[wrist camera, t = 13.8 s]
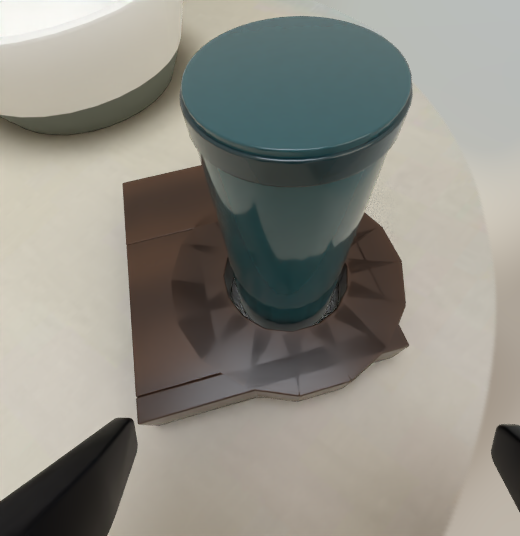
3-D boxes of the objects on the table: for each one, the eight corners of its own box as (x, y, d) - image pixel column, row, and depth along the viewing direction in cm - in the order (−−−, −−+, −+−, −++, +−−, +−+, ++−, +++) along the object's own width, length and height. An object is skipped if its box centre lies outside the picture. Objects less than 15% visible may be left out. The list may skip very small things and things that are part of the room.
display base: (430, 362, 16) (453, 351, 14) (158, 442, 15) (138, 444, 13) (325, 162, 24) (330, 135, 22) (137, 207, 23) (122, 182, 21)
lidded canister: (295, 356, 17) (330, 197, 6) (218, 297, 19) (127, 91, 8) (350, 281, 19) (457, 50, 8) (275, 235, 21) (270, -4, 9)
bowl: (66, 15, 38) (16, -84, 31) (233, 35, 34) (220, -76, 27) (-78, 131, 29) (-201, 26, 21) (129, 180, 24) (64, 69, 17)
